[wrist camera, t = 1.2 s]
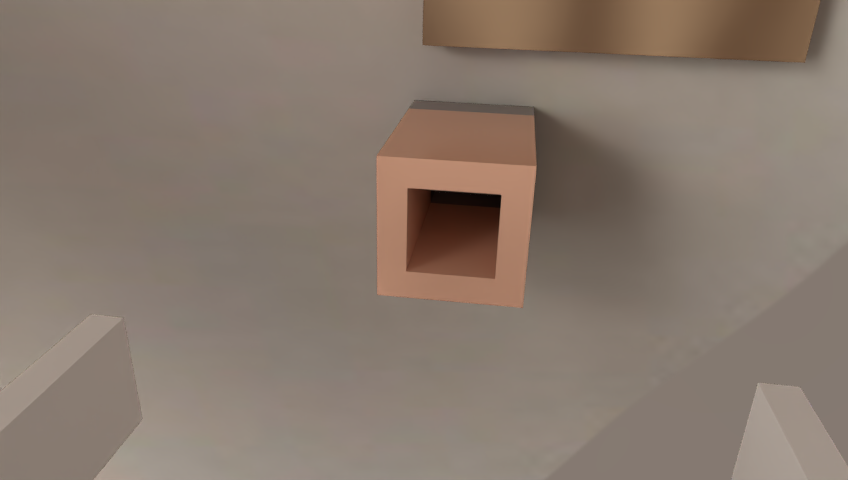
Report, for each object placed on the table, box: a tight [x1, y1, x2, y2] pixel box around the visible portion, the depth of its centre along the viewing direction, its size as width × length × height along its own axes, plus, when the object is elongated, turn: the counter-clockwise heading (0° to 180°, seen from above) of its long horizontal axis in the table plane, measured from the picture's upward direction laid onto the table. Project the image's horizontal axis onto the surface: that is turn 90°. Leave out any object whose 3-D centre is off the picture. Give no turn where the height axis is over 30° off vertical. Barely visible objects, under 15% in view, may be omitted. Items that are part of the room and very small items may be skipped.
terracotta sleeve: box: [377, 100, 537, 308], centre depth 25 cm, size 5×5×8 cm
